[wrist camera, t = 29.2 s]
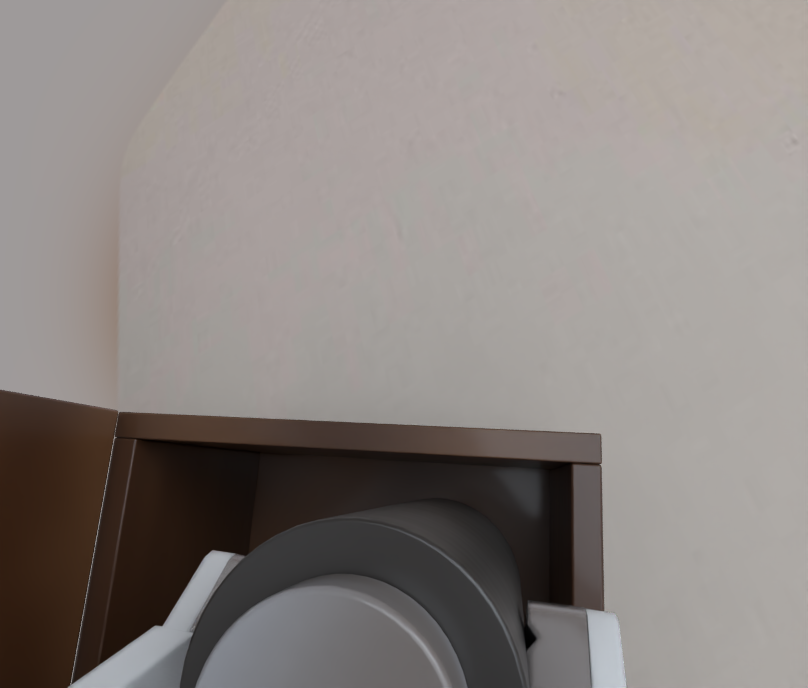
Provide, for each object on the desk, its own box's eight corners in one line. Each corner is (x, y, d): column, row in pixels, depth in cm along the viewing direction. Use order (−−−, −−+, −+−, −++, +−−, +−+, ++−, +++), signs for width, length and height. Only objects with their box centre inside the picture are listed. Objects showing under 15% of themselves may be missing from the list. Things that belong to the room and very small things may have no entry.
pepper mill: (350, 664, 16) (91, 957, 6) (363, 493, 17) (160, 508, 7) (519, 686, 15) (534, 1071, 5) (522, 503, 16) (537, 538, 6)
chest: (567, 451, 24) (601, 433, 15) (569, 786, 21) (612, 1023, 12) (254, 435, 27) (118, 411, 18) (219, 729, 24) (34, 884, 15)
